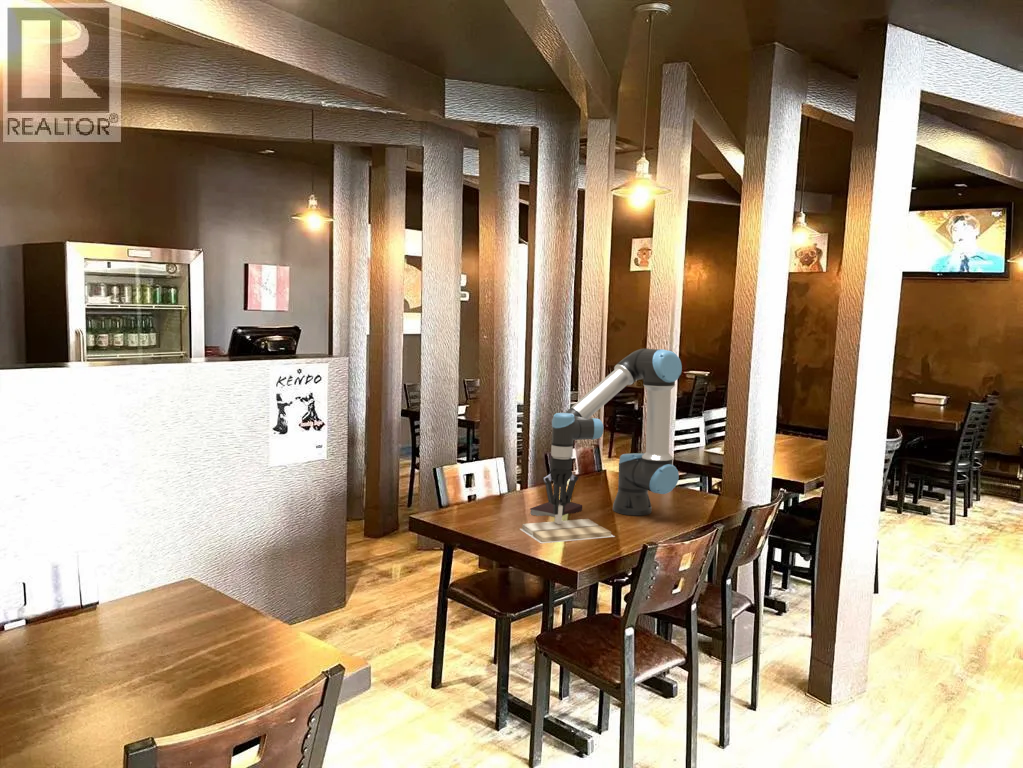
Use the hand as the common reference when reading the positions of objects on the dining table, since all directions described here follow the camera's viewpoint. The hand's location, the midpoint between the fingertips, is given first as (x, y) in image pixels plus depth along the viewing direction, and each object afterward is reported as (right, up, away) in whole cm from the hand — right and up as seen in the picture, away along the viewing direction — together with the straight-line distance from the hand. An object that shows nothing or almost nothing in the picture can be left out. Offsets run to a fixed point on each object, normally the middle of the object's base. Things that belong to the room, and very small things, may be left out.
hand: (558, 523), depth 266 cm
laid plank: (+4, -3, -9) cm, 10 cm away
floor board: (+3, -3, -5) cm, 7 cm away
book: (+1, -2, +27) cm, 27 cm away
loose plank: (+1, -2, -1) cm, 2 cm away
